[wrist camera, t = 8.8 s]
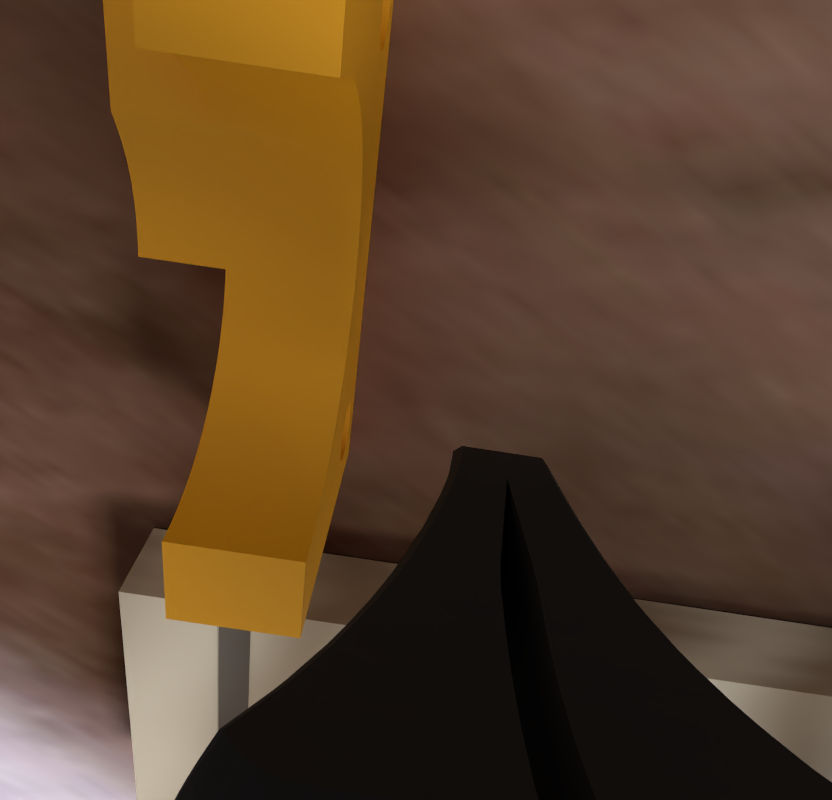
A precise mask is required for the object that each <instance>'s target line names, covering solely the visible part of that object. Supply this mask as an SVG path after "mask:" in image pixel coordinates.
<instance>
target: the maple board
mask: <svg viewBox="0 0 832 800" xmlns="http://www.w3.org/2000/svg"><path fill="white" fill-rule="evenodd" d="M166 532H167V530H164V529H157V528H153V530H152V532H151V534H150V536H149V537H148V539H147V541H146V543H145V545H144V547H143V548H142V550H141V552H140V554H139V556H138V557H137V559H136V561H135V563H134V565H133V566H132V568H131V570H130V572H129V574H128V575H127V577H126V579H125V581H124V583H123V585H122V586H121V588H120V590H119V603H120V614H121V625H122V636H123V647H124V658H125V670H126V681H127V692H128V703H129V714H130V726H131V737H132V748H133V759H134V770H135V782H136V793H137V800H175V798H176V796H177V794H178V792H179V791H180V789H181V787H182V785H183V784H184V782H185V780H186V779H187V777H188V776H189V774H190V772H191V771H192V769H193V767H194V766H195V764H196V763H197V761H198V760H199V758H200V757H201V755H202V754H203V752H204V751H205V749H206V748H207V746H208V745H209V743H210V742H211V740H212V739H213V737H214V736H215V735H216V733H217V732H218V730H219V729H220V728H221V727H223V726H224V725H225V724H227V723H228V722H230V721H231V720H232V719H234V718H235V717H237V716H238V715H239V714H241V713H242V712H244V711H245V710H246V709H248V708H249V707H250V706H252V705H253V704H255V703H256V702H257V701H259V700H260V699H261V698H263V697H264V696H266V695H267V694H268V693H270V692H271V691H272V690H274V689H275V688H276V687H278V686H279V685H280V684H281V683H283V682H284V681H285V680H286V679H288V678H289V677H290V676H291V675H292V674H293V673H294V672H296V671H297V670H298V669H299V668H300V667H301V666H302V665H304V664H305V663H306V662H307V661H308V660H309V659H310V658H312V657H313V656H314V655H315V654H316V653H317V652H318V651H320V650H321V649H322V648H323V647H324V646H325V645H326V644H328V643H329V642H330V641H331V640H332V639H333V638H334V637H335V636H336V635H337V634H338V633H339V632H340V631H341V630H342V629H343V628H344V627H345V626H346V625H347V624H348V623H349V621H350V620H351V619H352V618H353V617H354V616H355V615H356V614H357V613H358V612H359V611H360V610H361V609H362V608H363V606H364V605H365V604H366V603H367V602H368V601H369V600H370V599H371V598H372V596H373V595H374V594H375V593H376V591H377V590H378V589H379V588H380V587H381V585H382V584H383V583H384V582H385V581H386V579H387V578H388V577H389V575H390V574H391V573H392V572H393V570H394V569H395V568H396V566H397V565H398V564H394V563H387V562H381V561H374V560H367V559H360V558H354V557H347V556H340V555H333V554H326V553H322V557H321V561H320V565H319V569H318V572H317V576H316V580H315V584H314V588H313V592H312V595H311V599H310V603H309V607H308V611H307V615H306V618H305V622H304V626H303V630H302V634H301V638H294V637H288V636H281V635H274V634H267V633H260V632H253V631H246V630H240V629H233V628H226V627H219V626H212V625H205V624H198V623H191V622H185V621H178V620H171V619H166V612H165V593H164V575H163V556H162V540H163V538H164V536H165V534H166ZM634 600H635V601H636V603H637V604H638V605H639V606H640V607H641V609H642V610H643V611H644V612H645V613H646V615H647V616H648V617H649V618H650V619H651V620H652V621H653V622H654V624H655V625H656V626H657V627H658V628H659V629H660V630H661V631H662V632H663V634H664V635H665V636H666V637H667V638H668V639H669V640H670V641H671V642H672V644H673V645H674V646H675V647H676V648H677V649H678V650H679V651H680V652H681V653H682V654H683V655H684V656H685V657H686V658H687V659H688V660H689V661H690V662H691V663H692V664H693V665H694V666H695V667H696V668H697V669H698V670H699V671H700V672H701V673H702V674H703V675H704V676H705V677H706V678H707V679H708V680H709V681H710V682H711V683H712V684H714V685H715V686H716V687H717V688H718V689H719V690H720V691H721V692H722V693H723V694H724V695H725V696H726V697H727V698H728V699H729V700H730V701H732V702H733V703H734V704H735V705H736V706H737V707H738V708H739V709H741V710H742V711H743V712H744V713H745V714H746V715H748V716H749V717H750V718H751V719H752V720H753V721H754V722H756V723H757V724H758V725H759V726H760V727H761V728H763V729H764V730H765V731H766V732H768V733H769V734H770V735H771V736H773V737H774V738H775V739H776V740H777V741H779V742H780V743H781V744H782V745H784V746H785V747H786V748H787V749H789V750H790V751H791V752H792V753H794V754H795V755H796V756H797V757H799V758H800V759H801V760H802V761H803V762H805V763H806V764H807V765H809V766H810V767H811V768H813V769H814V770H815V771H817V772H818V773H819V774H821V775H822V776H824V777H825V778H826V779H828V780H829V781H831V782H832V628H828V627H821V626H814V625H807V624H801V623H794V622H787V621H780V620H774V619H767V618H760V617H753V616H746V615H740V614H733V613H726V612H719V611H713V610H706V609H699V608H692V607H685V606H679V605H672V604H665V603H658V602H652V601H645V600H638V599H634Z"/></svg>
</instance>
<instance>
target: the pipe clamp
mask: <svg viewBox="0 0 832 800" xmlns="http://www.w3.org/2000/svg"><path fill="white" fill-rule="evenodd" d="M393 1H394V0H103V8H104V22H105V37H106V51H107V65H108V79H109V93H110V107H111V113H112V115H113V118H114V120H115V123H116V126H117V129H118V132H119V135H120V138H121V141H122V144H123V148H124V152H125V155H126V159H127V164H128V168H129V173H130V178H131V183H132V190H133V196H134V203H135V212H136V222H137V238H138V257H144V258H151V259H158V260H165V261H172V262H178V263H185V264H192V265H199V266H206V267H213V268H220V269H226V276H225V293H224V307H223V318H222V327H221V335H220V344H219V351H218V357H217V364H216V370H215V376H214V381H213V387H212V392H211V397H210V402H209V407H208V411H207V415H206V419H205V424H204V428H203V432H202V435H201V439H200V443H199V446H198V450H197V453H196V457H195V460H194V463H193V466H192V470H191V473H190V475H189V478H188V481H187V484H186V487H185V490H184V492H183V495H182V498H181V500H180V503H179V505H178V508H177V510H176V512H175V515H174V517H173V519H172V521H171V524H170V526H169V528H168V530H167V532H166V534H165V536H164V538H163V540H162V556H163V575H164V593H165V612H166V619H171V620H178V621H185V622H191V623H198V624H205V625H212V626H219V627H226V628H233V629H240V630H246V631H253V632H260V633H267V634H274V635H281V636H288V637H294V638H301V634H302V630H303V626H304V622H305V618H306V615H307V611H308V607H309V603H310V599H311V595H312V592H313V588H314V584H315V580H316V576H317V572H318V569H319V565H320V561H321V557H322V553H323V549H324V546H325V542H326V538H327V534H328V530H329V526H330V522H331V519H332V515H333V511H334V507H335V503H336V499H337V496H338V492H339V488H340V484H341V480H342V476H343V473H344V469H345V465H346V461H347V457H348V453H349V445H350V435H351V425H352V415H353V405H354V395H355V385H356V375H357V365H358V355H359V344H360V334H361V324H362V314H363V304H364V294H365V284H366V274H367V264H368V254H369V243H370V233H371V223H372V213H373V203H374V193H375V183H376V173H377V163H378V153H379V142H380V132H381V122H382V112H383V102H384V92H385V82H386V72H387V62H388V52H389V42H390V31H391V21H392V11H393Z"/></svg>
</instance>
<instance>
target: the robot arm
mask: <svg viewBox="0 0 832 800" xmlns="http://www.w3.org/2000/svg"><path fill="white" fill-rule="evenodd" d="M175 800H832V782H831V781H829V780H828V779H826V778H825V777H824V776H822V775H821V774H819V773H818V772H817V771H815V770H814V769H813V768H811V767H810V766H809V765H807V764H806V763H805V762H803V761H802V760H801V759H800V758H799V757H797V756H796V755H795V754H794V753H792V752H791V751H790V750H789V749H787V748H786V747H785V746H784V745H782V744H781V743H780V742H779V741H777V740H776V739H775V738H774V737H773V736H771V735H770V734H769V733H768V732H766V731H765V730H764V729H763V728H761V727H760V726H759V725H758V724H757V723H756V722H754V721H753V720H752V719H751V718H750V717H749V716H748V715H746V714H745V713H744V712H743V711H742V710H741V709H739V708H738V707H737V706H736V705H735V704H734V703H733V702H732V701H730V700H729V699H728V698H727V697H726V696H725V695H724V694H723V693H722V692H721V691H720V690H719V689H718V688H717V687H716V686H715V685H714V684H712V683H711V682H710V681H709V680H708V679H707V678H706V677H705V676H704V675H703V674H702V673H701V672H700V671H699V670H698V669H697V668H696V667H695V666H694V665H693V664H692V663H691V662H690V661H689V660H688V659H687V658H686V657H685V656H684V655H683V654H682V653H681V652H680V651H679V650H678V649H677V648H676V647H675V646H674V645H673V644H672V642H671V641H670V640H669V639H668V638H667V637H666V636H665V635H664V634H663V632H662V631H661V630H660V629H659V628H658V627H657V626H656V625H655V624H654V622H653V621H652V620H651V619H650V618H649V617H648V616H647V615H646V613H645V612H644V611H643V610H642V609H641V607H640V606H639V605H638V604H637V603H636V601H635V600H634V599H633V598H632V596H631V595H630V594H629V592H628V591H627V590H626V588H625V587H624V586H623V584H622V583H621V582H620V580H619V579H618V578H617V576H616V575H615V574H614V572H613V571H612V570H611V568H610V567H609V565H608V564H607V562H606V561H605V560H604V558H603V557H602V555H601V554H600V552H599V551H598V549H597V548H596V546H595V545H594V543H593V542H592V540H591V539H590V537H589V536H588V534H587V532H586V531H585V529H584V528H583V526H582V525H581V523H580V521H579V520H578V518H577V517H576V515H575V513H574V512H573V510H572V508H571V507H570V505H569V503H568V502H567V500H566V498H565V496H564V495H563V493H562V491H561V489H560V488H559V486H558V484H557V482H556V480H555V479H554V477H553V475H552V473H551V471H550V470H549V468H548V466H547V465H546V463H545V462H544V460H543V459H542V458H538V457H531V456H524V455H518V454H511V453H504V452H498V451H491V450H485V449H478V448H471V447H465V446H461V447H460V448H458V449H456V450H455V451H453V455H452V461H451V466H450V471H449V475H448V478H447V481H446V483H445V485H444V487H443V490H442V492H441V494H440V496H439V498H438V500H437V502H436V504H435V506H434V508H433V510H432V511H431V513H430V515H429V517H428V519H427V521H426V523H425V524H424V526H423V528H422V529H421V531H420V532H419V534H418V535H417V537H416V538H415V540H414V541H413V543H412V544H411V546H410V547H409V549H408V550H407V552H406V553H405V555H404V556H403V558H402V559H401V561H400V562H399V564H398V565H397V566H396V568H395V569H394V570H393V572H392V573H391V574H390V575H389V577H388V578H387V579H386V581H385V582H384V583H383V584H382V585H381V587H380V588H379V589H378V590H377V591H376V593H375V594H374V595H373V596H372V598H371V599H370V600H369V601H368V602H367V603H366V604H365V605H364V606H363V608H362V609H361V610H360V611H359V612H358V613H357V614H356V615H355V616H354V617H353V618H352V619H351V620H350V621H349V623H348V624H347V625H346V626H345V627H344V628H343V629H342V630H341V631H340V632H339V633H338V634H337V635H336V636H335V637H334V638H333V639H332V640H331V641H330V642H329V643H328V644H326V645H325V646H324V647H323V648H322V649H321V650H320V651H318V652H317V653H316V654H315V655H314V656H313V657H312V658H310V659H309V660H308V661H307V662H306V663H305V664H304V665H302V666H301V667H300V668H299V669H298V670H297V671H296V672H294V673H293V674H292V675H291V676H290V677H289V678H288V679H286V680H285V681H284V682H283V683H281V684H280V685H279V686H278V687H276V688H275V689H274V690H272V691H271V692H270V693H268V694H267V695H266V696H264V697H263V698H261V699H260V700H259V701H257V702H256V703H255V704H253V705H252V706H250V707H249V708H248V709H246V710H245V711H244V712H242V713H241V714H239V715H238V716H237V717H235V718H234V719H232V720H231V721H230V722H228V723H227V724H225V725H224V726H223V727H221V728H220V729H219V730H218V732H217V733H216V735H215V736H214V737H213V739H212V740H211V742H210V743H209V745H208V746H207V748H206V749H205V751H204V752H203V754H202V755H201V757H200V758H199V760H198V761H197V763H196V764H195V766H194V767H193V769H192V771H191V772H190V774H189V776H188V777H187V779H186V780H185V782H184V784H183V785H182V787H181V789H180V791H179V792H178V794H177V796H176V798H175Z"/></svg>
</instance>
